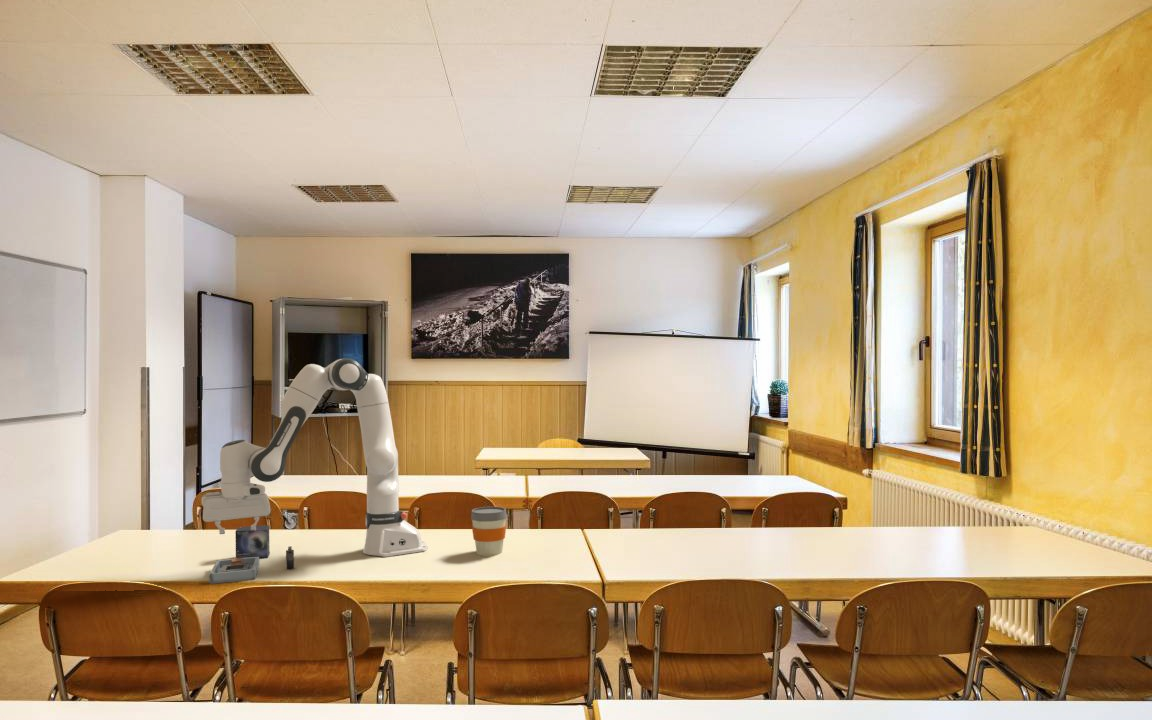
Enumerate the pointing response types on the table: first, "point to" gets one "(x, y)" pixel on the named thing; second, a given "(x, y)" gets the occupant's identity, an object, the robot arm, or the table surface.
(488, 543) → the reusable coffee cup
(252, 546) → the small box
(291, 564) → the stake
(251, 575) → the tray
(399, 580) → the table surface
